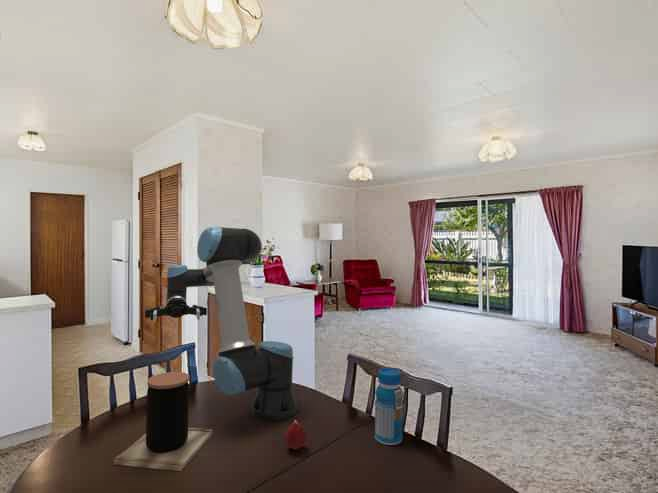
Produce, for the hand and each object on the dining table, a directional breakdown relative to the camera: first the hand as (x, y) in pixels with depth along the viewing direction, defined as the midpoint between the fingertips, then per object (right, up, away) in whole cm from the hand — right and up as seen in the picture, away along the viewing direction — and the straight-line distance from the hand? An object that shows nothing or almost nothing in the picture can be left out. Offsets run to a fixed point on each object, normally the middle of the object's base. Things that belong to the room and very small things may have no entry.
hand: (177, 316), depth 121 cm
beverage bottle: (+68, -34, -13) cm, 78 cm away
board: (+6, -32, -21) cm, 39 cm away
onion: (+41, -33, -20) cm, 57 cm away
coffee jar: (+6, -31, -21) cm, 38 cm away
